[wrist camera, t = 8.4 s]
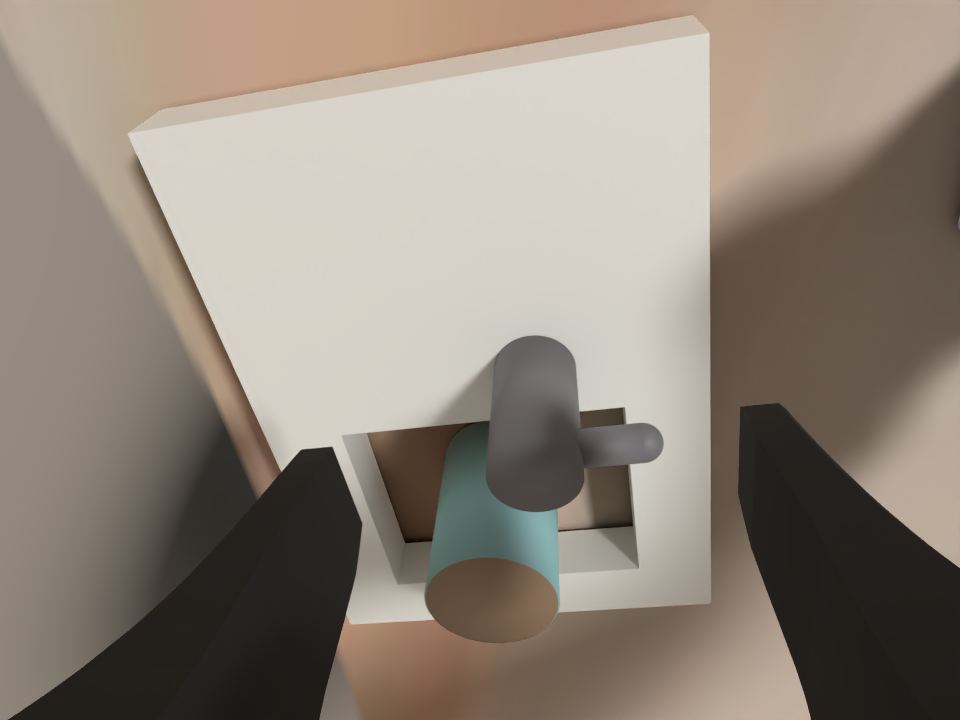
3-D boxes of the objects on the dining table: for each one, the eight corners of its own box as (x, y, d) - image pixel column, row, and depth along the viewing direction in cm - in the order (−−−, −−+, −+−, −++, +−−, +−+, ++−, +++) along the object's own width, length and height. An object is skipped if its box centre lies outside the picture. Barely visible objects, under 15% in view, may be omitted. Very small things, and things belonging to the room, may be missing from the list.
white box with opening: (693, 14, 18) (760, 89, 12) (701, 560, 29) (738, 722, 24) (161, 109, 20) (23, 207, 14) (360, 583, 31) (324, 736, 26)
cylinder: (548, 413, 25) (551, 553, 20) (561, 496, 27) (567, 640, 22) (434, 424, 26) (410, 562, 21) (457, 504, 28) (439, 646, 23)
